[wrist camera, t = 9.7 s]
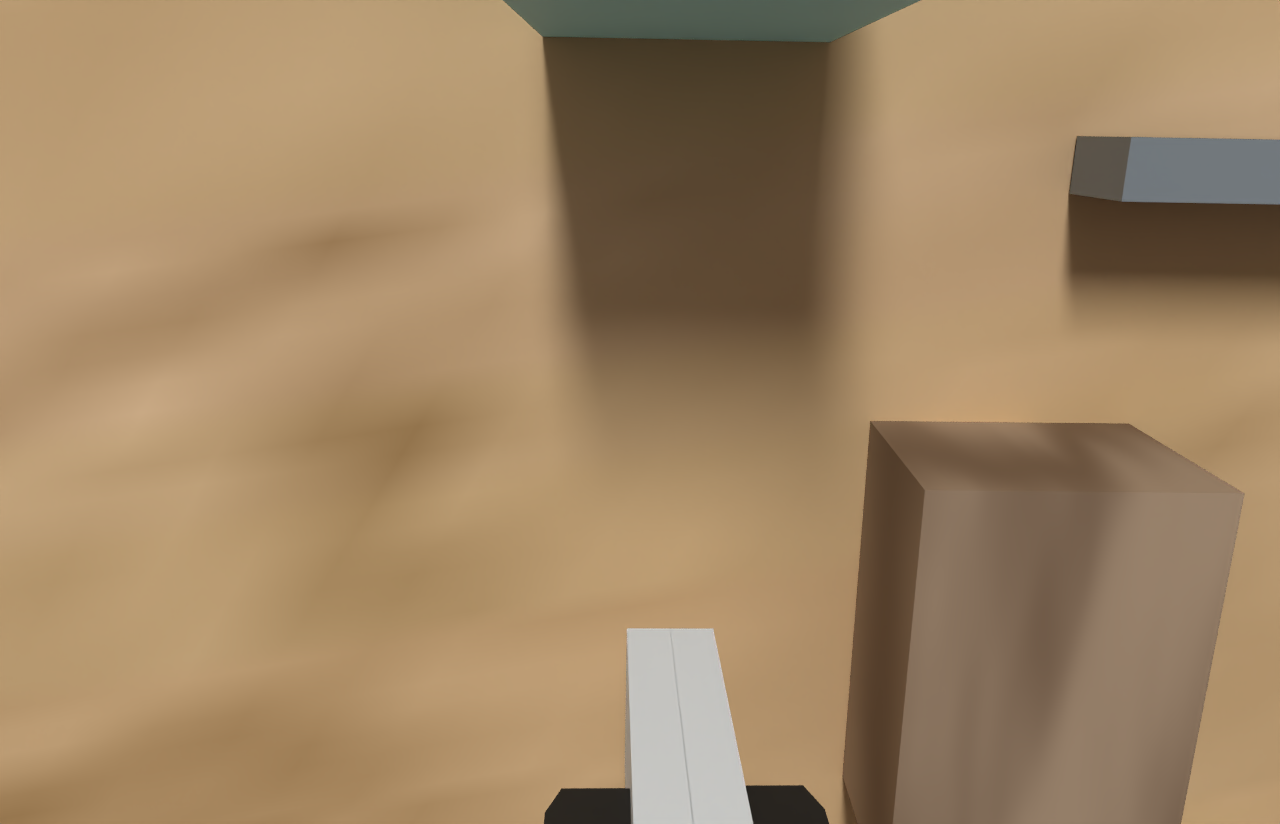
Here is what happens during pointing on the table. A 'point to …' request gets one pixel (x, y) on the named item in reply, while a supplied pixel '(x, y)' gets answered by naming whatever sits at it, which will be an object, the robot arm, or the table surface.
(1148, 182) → the slot rack
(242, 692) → the table surface
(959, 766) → the walnut block
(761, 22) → the teal block
